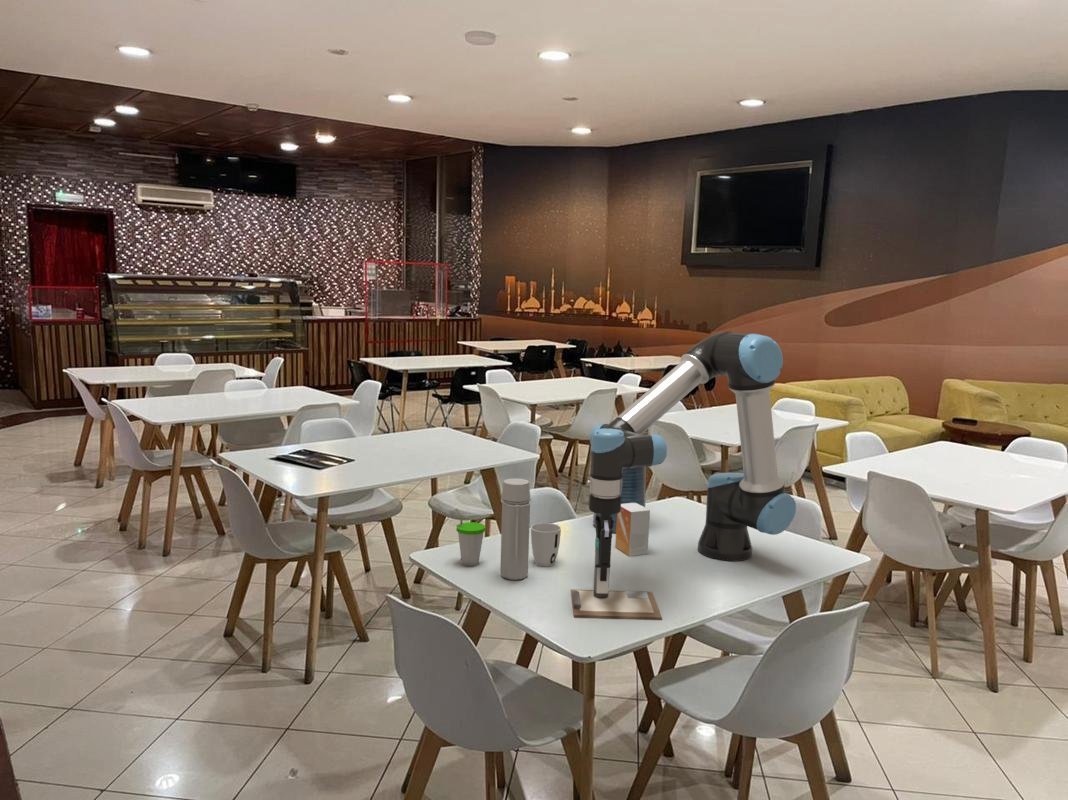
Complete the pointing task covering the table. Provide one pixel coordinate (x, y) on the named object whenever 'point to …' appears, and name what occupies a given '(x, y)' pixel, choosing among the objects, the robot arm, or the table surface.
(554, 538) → the cup
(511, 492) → the water bottle
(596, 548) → the marker
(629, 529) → the small box
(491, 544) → the table surface
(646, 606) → the tan flat rectangular tray
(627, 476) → the vase
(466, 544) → the cup
